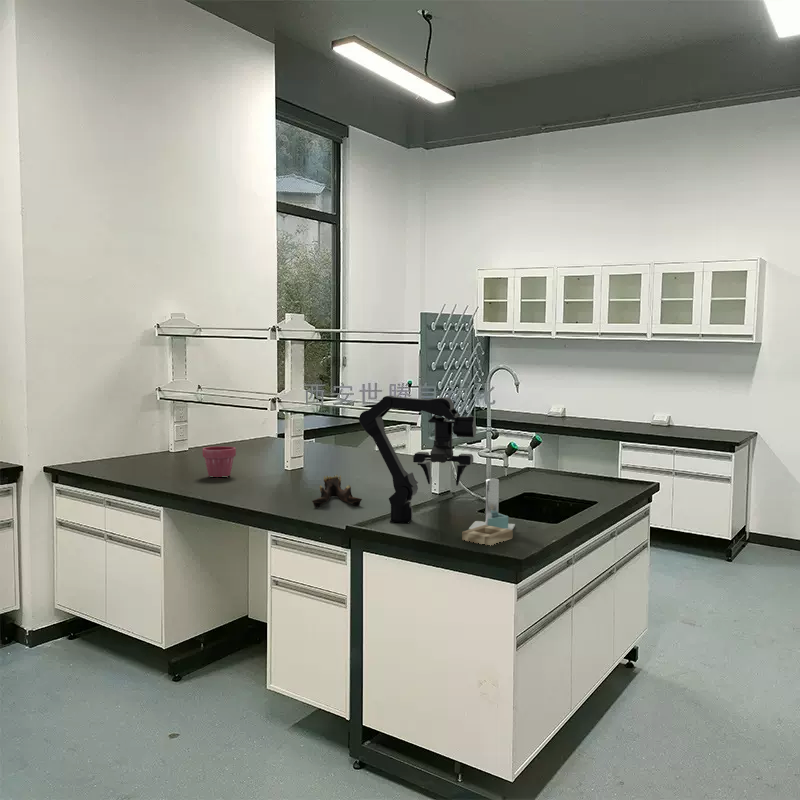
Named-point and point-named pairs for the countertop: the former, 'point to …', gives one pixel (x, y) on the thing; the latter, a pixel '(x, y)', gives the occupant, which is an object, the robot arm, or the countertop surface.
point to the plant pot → (219, 460)
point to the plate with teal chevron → (495, 522)
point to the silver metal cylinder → (492, 498)
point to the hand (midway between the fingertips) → (443, 484)
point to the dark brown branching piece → (335, 492)
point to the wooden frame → (487, 535)
